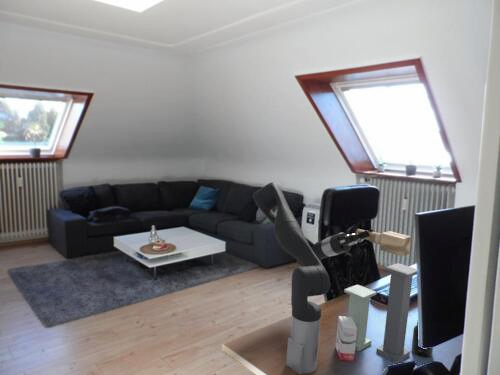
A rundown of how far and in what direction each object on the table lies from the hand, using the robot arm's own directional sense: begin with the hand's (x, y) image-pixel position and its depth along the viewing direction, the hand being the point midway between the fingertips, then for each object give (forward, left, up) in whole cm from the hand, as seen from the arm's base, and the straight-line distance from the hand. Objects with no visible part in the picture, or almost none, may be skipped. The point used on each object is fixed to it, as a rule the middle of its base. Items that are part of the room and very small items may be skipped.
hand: (371, 232), depth 140 cm
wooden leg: (0, -4, -4) cm, 6 cm away
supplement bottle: (+9, -19, -41) cm, 46 cm away
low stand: (-5, -1, -40) cm, 41 cm away
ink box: (-14, -3, -41) cm, 43 cm away
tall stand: (0, -13, -40) cm, 42 cm away
